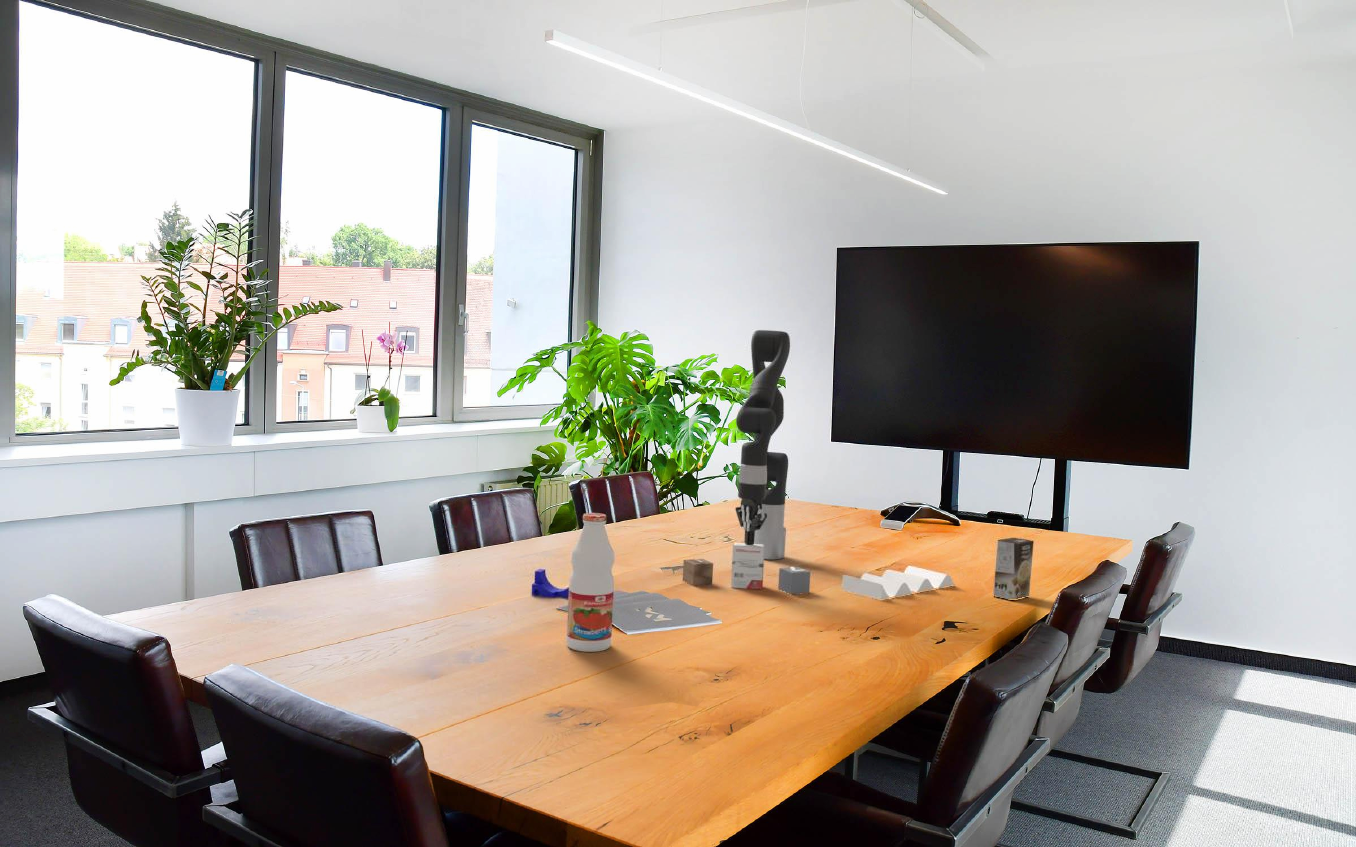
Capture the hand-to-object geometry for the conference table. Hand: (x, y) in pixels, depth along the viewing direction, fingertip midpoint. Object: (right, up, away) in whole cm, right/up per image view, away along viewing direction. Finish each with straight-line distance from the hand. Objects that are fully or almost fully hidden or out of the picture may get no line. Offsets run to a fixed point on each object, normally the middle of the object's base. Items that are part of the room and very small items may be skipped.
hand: (749, 544), depth 269 cm
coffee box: (+73, -16, +5) cm, 75 cm away
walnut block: (-14, -11, +3) cm, 18 cm away
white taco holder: (+43, -14, +9) cm, 46 cm away
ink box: (-1, -12, +1) cm, 12 cm away
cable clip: (-50, -11, -20) cm, 55 cm away
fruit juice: (-38, -14, -61) cm, 73 cm away
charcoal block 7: (+12, -13, -1) cm, 17 cm away
